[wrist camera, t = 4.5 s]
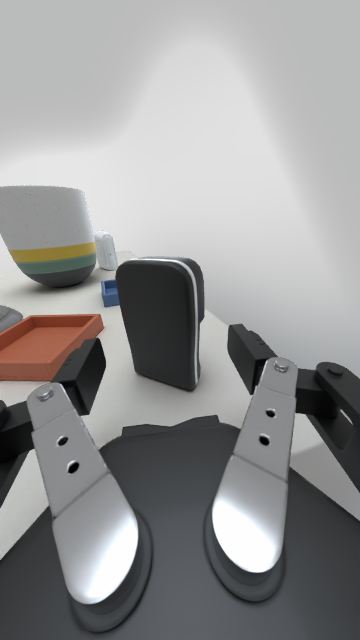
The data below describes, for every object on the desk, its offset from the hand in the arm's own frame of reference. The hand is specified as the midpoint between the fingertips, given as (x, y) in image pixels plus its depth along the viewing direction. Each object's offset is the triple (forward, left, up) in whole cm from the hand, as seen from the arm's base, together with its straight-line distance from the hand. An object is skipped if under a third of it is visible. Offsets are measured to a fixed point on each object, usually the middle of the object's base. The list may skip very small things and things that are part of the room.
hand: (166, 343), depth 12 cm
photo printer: (+30, -59, -7) cm, 67 cm away
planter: (+34, -40, -7) cm, 53 cm away
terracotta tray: (+18, -9, -7) cm, 21 cm away
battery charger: (+1, -5, -7) cm, 9 cm away
